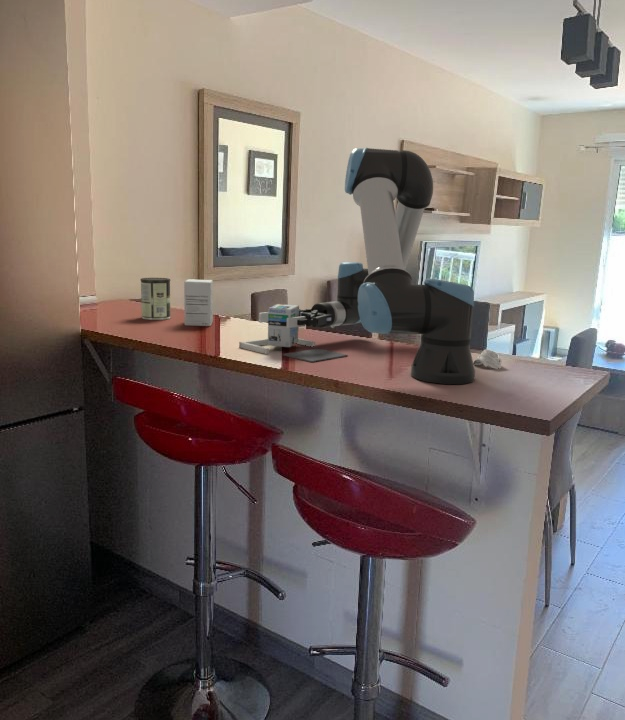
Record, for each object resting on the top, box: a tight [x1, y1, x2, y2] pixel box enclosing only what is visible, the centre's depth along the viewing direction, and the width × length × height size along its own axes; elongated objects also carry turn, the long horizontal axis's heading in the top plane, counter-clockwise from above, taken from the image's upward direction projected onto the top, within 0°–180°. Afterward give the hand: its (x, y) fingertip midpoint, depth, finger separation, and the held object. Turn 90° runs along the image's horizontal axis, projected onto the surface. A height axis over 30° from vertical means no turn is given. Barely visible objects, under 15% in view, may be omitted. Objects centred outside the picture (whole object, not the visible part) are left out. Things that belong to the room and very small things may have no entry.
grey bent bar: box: [238, 337, 316, 355], centre depth 184 cm, size 12×19×2 cm, turn 136°
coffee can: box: [140, 277, 171, 321], centre depth 228 cm, size 10×10×14 cm
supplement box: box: [183, 278, 214, 327], centre depth 219 cm, size 9×9×15 cm
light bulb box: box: [267, 303, 300, 348], centre depth 182 cm, size 11×7×11 cm, turn 168°
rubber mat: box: [282, 347, 348, 363], centre depth 174 cm, size 11×14×1 cm
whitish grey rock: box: [473, 349, 502, 370], centre depth 169 cm, size 8×7×5 cm
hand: (273, 320), depth 178 cm, fingers closed on light bulb box, 11 cm apart
